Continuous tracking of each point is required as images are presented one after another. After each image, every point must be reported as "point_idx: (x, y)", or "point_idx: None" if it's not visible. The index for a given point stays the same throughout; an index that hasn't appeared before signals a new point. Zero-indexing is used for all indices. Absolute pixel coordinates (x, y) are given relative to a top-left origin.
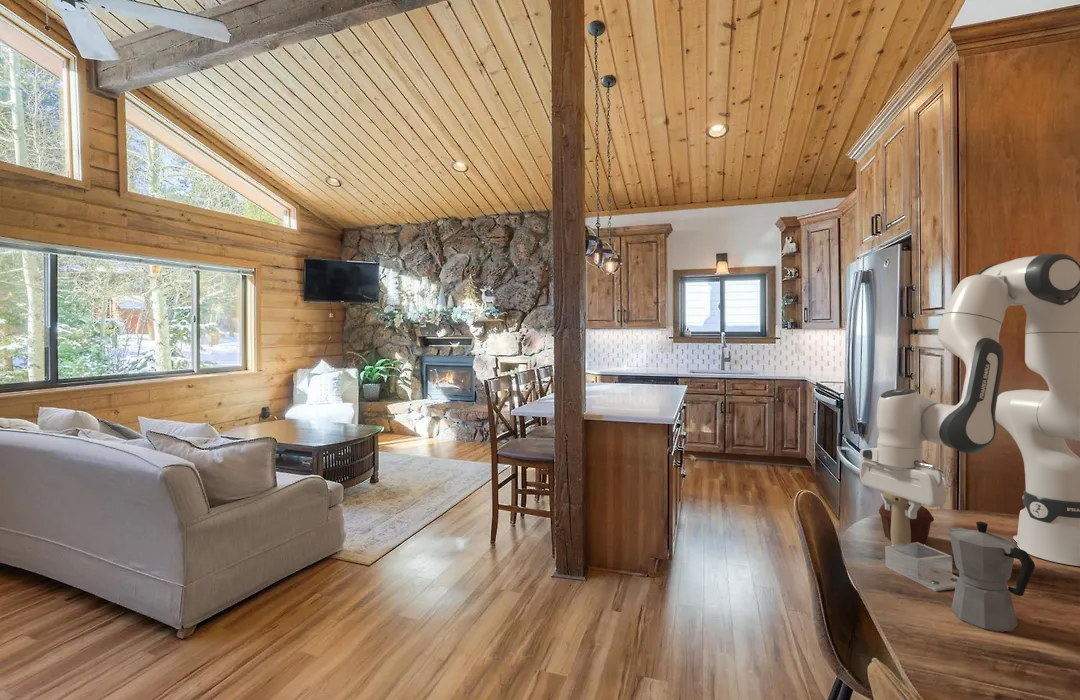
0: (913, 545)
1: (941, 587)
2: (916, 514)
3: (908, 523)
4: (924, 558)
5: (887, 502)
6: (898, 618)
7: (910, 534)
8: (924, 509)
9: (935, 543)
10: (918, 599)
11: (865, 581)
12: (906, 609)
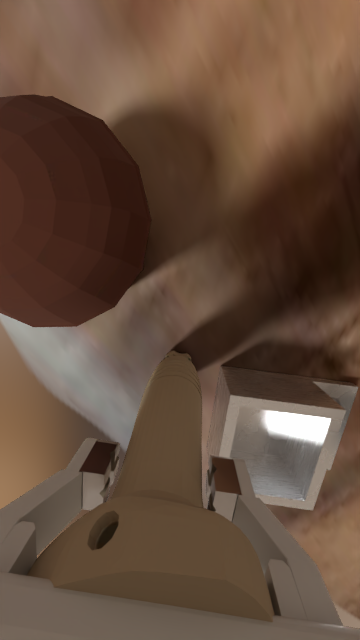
0: (236, 420)
1: (333, 456)
2: (249, 477)
3: (201, 431)
4: (315, 487)
5: (77, 510)
6: (345, 582)
7: (197, 389)
8: (87, 171)
9: (144, 183)
10: (326, 512)
11: None
12: (335, 553)
